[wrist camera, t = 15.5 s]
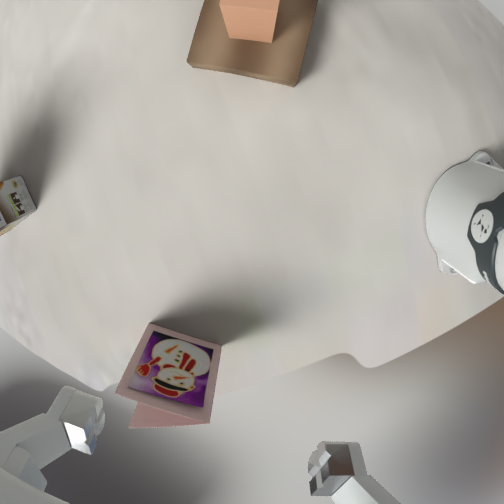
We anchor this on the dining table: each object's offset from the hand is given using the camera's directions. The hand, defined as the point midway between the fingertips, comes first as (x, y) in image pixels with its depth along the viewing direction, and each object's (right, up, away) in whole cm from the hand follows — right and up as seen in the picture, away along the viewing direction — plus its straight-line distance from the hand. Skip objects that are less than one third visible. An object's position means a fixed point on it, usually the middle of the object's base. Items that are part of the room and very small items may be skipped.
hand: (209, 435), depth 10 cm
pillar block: (+2, +31, +17) cm, 35 cm away
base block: (+2, +32, +21) cm, 39 cm away
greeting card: (-9, -8, +37) cm, 39 cm away
